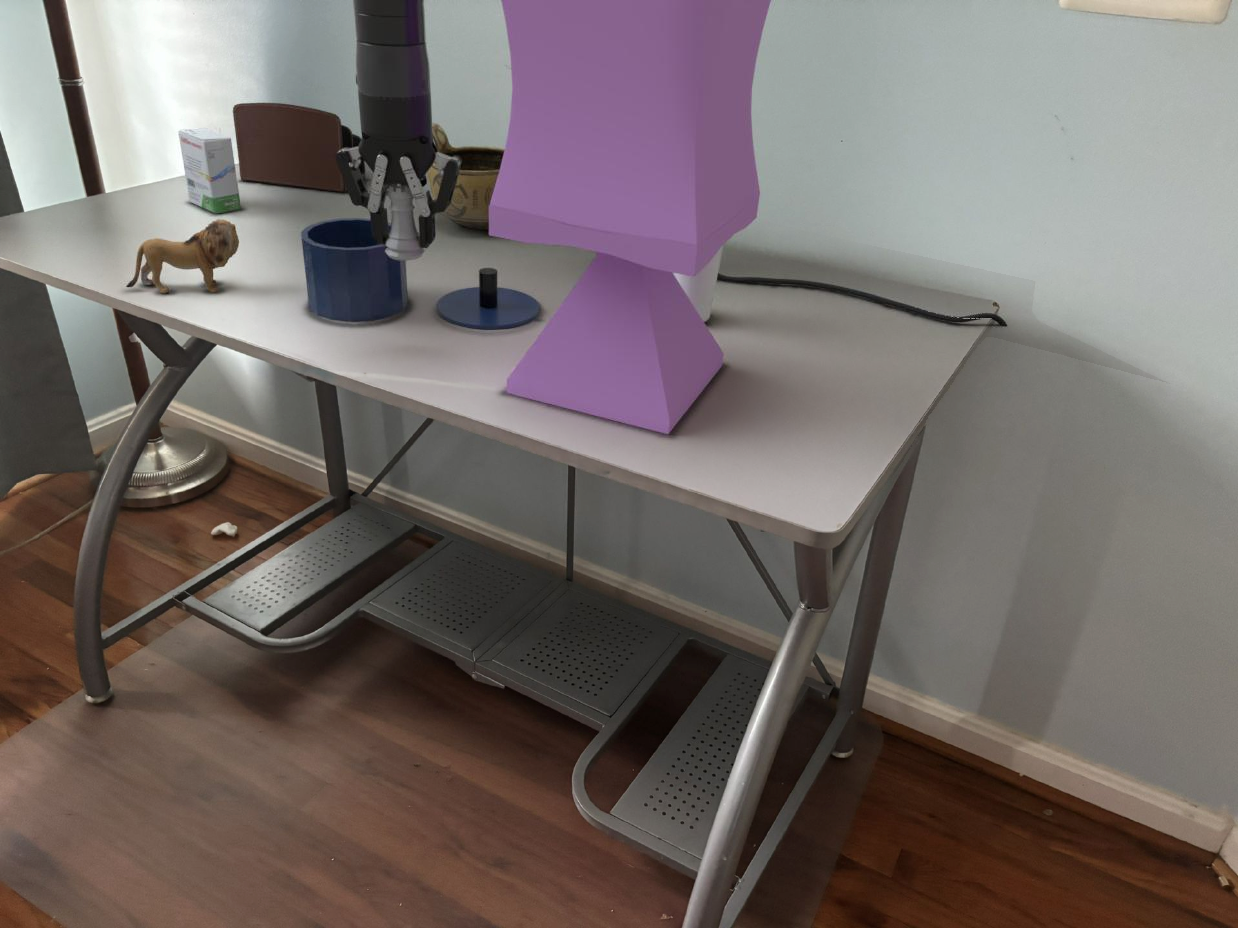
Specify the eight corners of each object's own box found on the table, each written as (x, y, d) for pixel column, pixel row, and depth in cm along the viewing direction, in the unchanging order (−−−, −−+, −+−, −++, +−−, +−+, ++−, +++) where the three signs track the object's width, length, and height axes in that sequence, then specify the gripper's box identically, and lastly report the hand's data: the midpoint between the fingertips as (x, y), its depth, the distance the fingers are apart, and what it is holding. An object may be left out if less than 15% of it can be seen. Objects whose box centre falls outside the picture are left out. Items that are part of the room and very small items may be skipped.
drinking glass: (681, 330, 128) (693, 219, 120) (656, 311, 133) (666, 204, 125) (724, 323, 131) (738, 215, 123) (698, 305, 136) (710, 200, 128)
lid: (546, 299, 134) (547, 258, 131) (530, 338, 122) (531, 294, 119) (450, 290, 135) (449, 249, 131) (425, 328, 123) (423, 284, 120)
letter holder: (345, 193, 170) (338, 110, 163) (239, 181, 172) (228, 99, 165) (366, 179, 179) (361, 100, 171) (266, 168, 181) (256, 89, 174)
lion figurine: (244, 277, 134) (235, 213, 129) (246, 291, 129) (236, 225, 125) (128, 284, 129) (114, 218, 124) (125, 299, 125) (111, 231, 120)
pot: (418, 294, 133) (415, 223, 127) (391, 329, 122) (387, 253, 117) (328, 285, 133) (321, 214, 128) (294, 320, 122) (285, 244, 117)
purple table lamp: (573, 326, 126) (589, -62, 103) (736, 363, 120) (793, -43, 96) (489, 395, 108) (486, -57, 85) (675, 443, 102) (727, -33, 78)
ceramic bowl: (563, 224, 163) (566, 133, 156) (512, 251, 150) (513, 153, 142) (452, 200, 171) (449, 112, 163) (394, 224, 157) (388, 130, 150)
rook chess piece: (416, 263, 108) (412, 193, 104) (378, 258, 109) (373, 188, 105) (430, 251, 112) (427, 182, 108) (394, 246, 113) (389, 178, 109)
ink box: (242, 209, 159) (232, 136, 153) (214, 215, 156) (203, 140, 150) (216, 197, 164) (205, 126, 158) (188, 202, 160) (176, 129, 154)
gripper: (469, 85, 104) (472, 239, 113) (339, 75, 104) (353, 229, 113) (452, 99, 97) (458, 261, 106) (315, 88, 98) (332, 250, 107)
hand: (404, 243), depth 110 cm, fingers closed on rook chess piece, 4 cm apart
